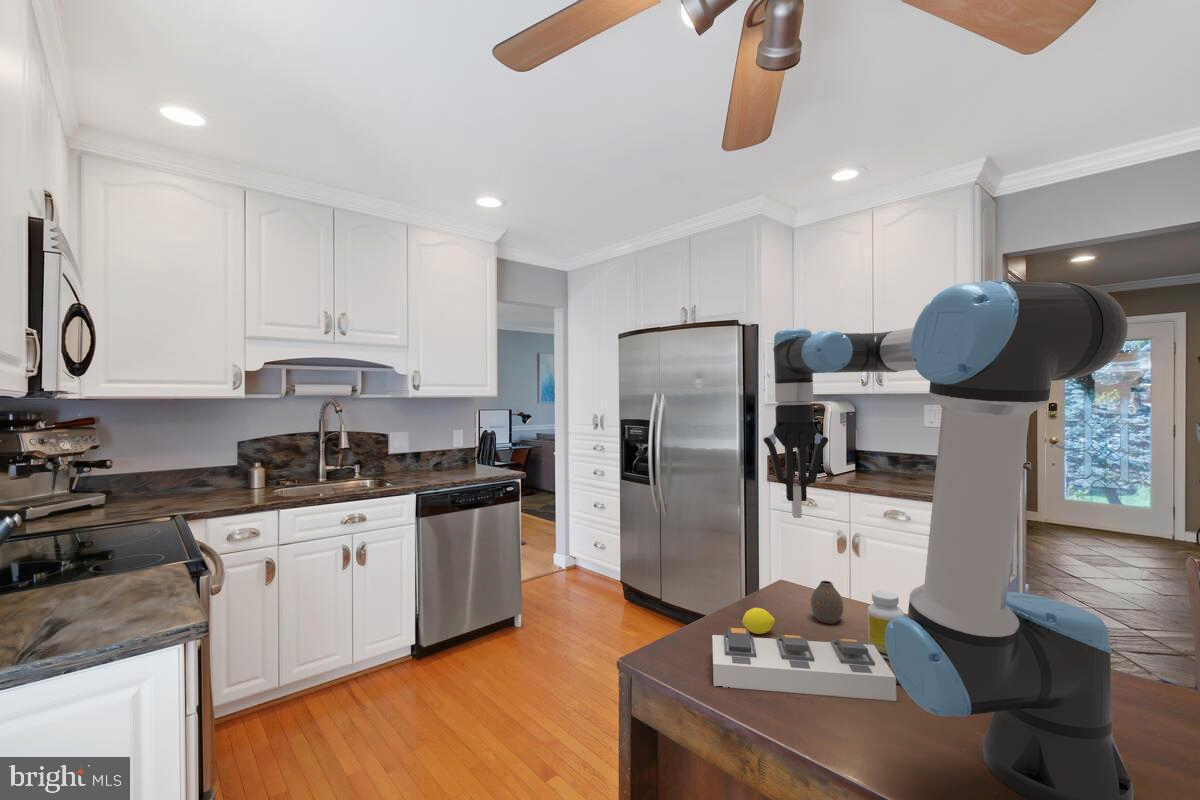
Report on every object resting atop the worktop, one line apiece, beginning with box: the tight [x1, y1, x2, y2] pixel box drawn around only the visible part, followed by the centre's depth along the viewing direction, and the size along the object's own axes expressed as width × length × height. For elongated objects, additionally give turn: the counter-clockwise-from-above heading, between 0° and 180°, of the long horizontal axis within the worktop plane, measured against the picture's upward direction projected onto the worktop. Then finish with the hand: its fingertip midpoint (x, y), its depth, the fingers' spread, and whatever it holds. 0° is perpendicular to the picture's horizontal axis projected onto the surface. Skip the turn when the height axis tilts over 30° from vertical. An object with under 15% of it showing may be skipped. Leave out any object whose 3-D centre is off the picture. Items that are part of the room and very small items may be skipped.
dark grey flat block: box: [780, 634, 809, 652], centre depth 99 cm, size 6×4×1 cm, turn 168°
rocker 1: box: [727, 626, 751, 653], centre depth 101 cm, size 6×4×1 cm, turn 169°
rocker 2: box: [835, 638, 868, 655], centre depth 97 cm, size 6×4×1 cm, turn 168°
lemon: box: [741, 607, 776, 635], centre depth 116 cm, size 7×5×5 cm
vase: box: [810, 580, 844, 625], centre depth 122 cm, size 7×7×9 cm
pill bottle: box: [867, 590, 905, 660], centre depth 106 cm, size 6×6×12 cm
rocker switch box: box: [711, 633, 901, 702], centre depth 97 cm, size 12×40×5 cm, turn 79°
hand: (796, 516), depth 111 cm, fingers closed
